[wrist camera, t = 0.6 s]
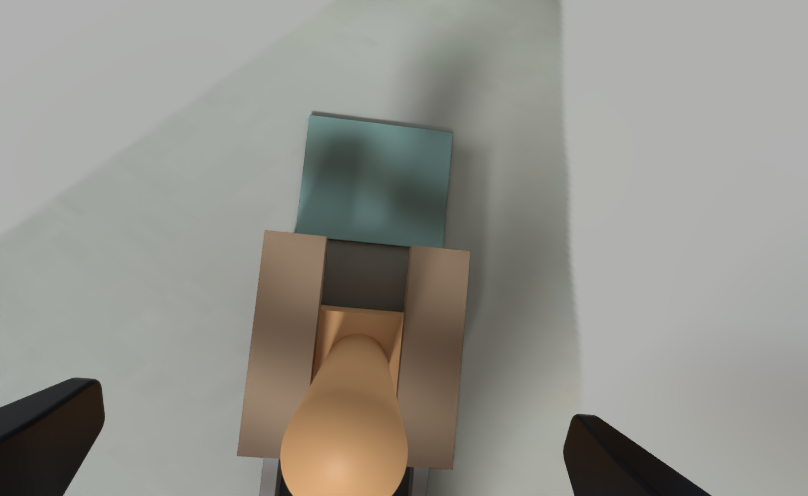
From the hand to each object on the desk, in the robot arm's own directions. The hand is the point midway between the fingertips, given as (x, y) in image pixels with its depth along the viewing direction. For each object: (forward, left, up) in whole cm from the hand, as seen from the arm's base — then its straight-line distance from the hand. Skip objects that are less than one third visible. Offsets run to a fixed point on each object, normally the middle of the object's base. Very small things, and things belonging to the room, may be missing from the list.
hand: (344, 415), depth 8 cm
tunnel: (0, 0, -18) cm, 18 cm away
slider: (-1, -1, -18) cm, 18 cm away
